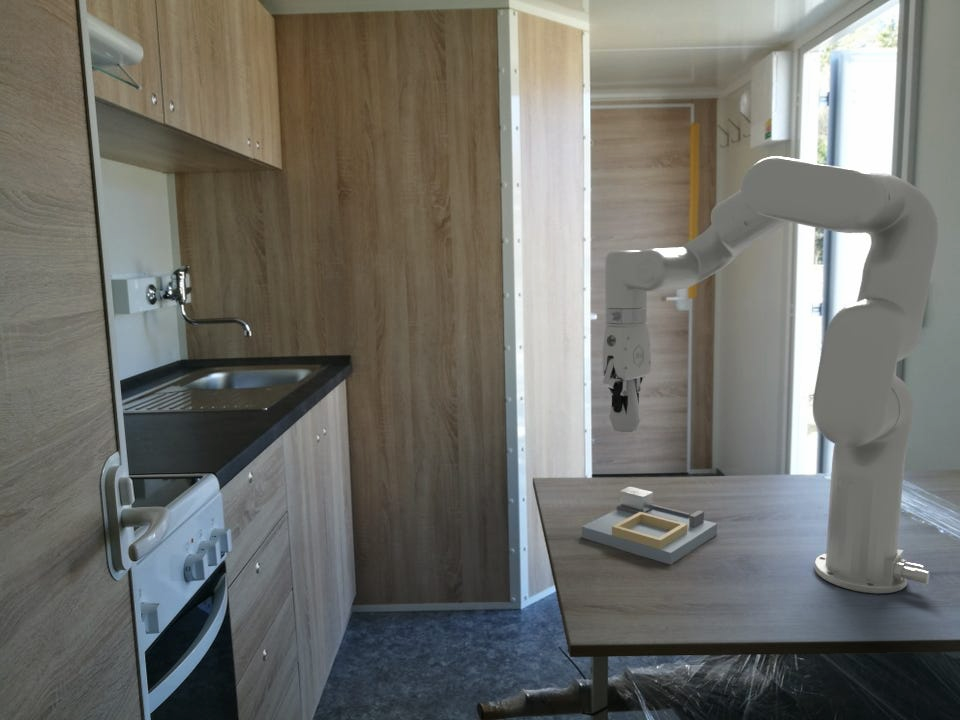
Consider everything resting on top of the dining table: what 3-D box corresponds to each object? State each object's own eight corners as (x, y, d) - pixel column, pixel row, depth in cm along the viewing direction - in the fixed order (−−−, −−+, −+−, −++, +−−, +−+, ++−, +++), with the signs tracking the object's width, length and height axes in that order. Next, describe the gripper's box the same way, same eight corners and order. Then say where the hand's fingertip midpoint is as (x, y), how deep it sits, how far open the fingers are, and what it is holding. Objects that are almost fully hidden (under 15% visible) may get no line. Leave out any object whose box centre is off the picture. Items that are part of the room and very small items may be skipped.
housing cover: (652, 507, 137) (653, 492, 137) (643, 512, 135) (643, 496, 134) (629, 501, 140) (629, 486, 140) (619, 506, 138) (619, 490, 137)
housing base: (716, 534, 130) (717, 512, 129) (670, 564, 118) (671, 540, 118) (631, 511, 142) (632, 491, 141) (581, 537, 130) (582, 515, 129)
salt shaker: (642, 433, 139) (643, 364, 137) (611, 433, 139) (612, 364, 137) (637, 425, 144) (637, 359, 142) (607, 426, 144) (607, 360, 143)
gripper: (618, 322, 130) (618, 424, 133) (666, 314, 142) (665, 409, 144) (583, 320, 135) (583, 419, 138) (632, 313, 147) (631, 404, 149)
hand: (625, 413), depth 141 cm, fingers closed on salt shaker, 3 cm apart
